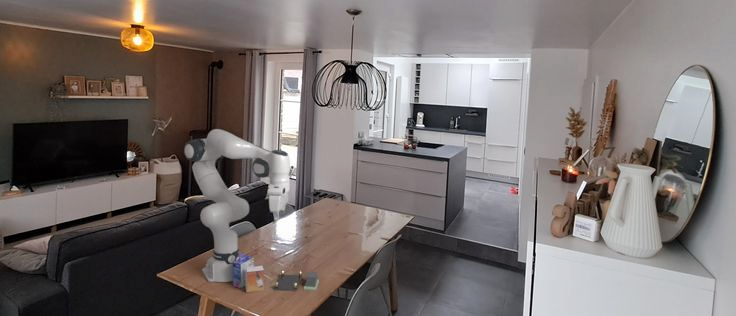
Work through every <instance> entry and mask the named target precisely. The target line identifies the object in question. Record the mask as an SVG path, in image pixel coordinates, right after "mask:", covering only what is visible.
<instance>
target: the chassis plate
mask: <svg viewBox="0 0 736 316" xmlns="http://www.w3.org/2000/svg"><path fill="white" fill-rule="evenodd" d="M302 278H303V275H302V270H299V271H298V274H285V270H284V269H281V270H280V276H279V278H278V280H277V281H275V282H274V287H273V290H274V291H286V292H287V291H289V292H297V291H298V289H299V286H300V283H301V281H302Z"/></svg>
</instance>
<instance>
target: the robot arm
mask: <svg viewBox="0 0 736 316" xmlns="http://www.w3.org/2000/svg"><path fill="white" fill-rule="evenodd" d="M183 153H184V156H185V158H186V159H187V160H188V161H189V162H194V163H193V164H192V167H191V168H192V172H193V176H194V179H195V181H196V183H197V185H198V186H199V189H200V191H201V192H202V195H203V196H204V198H206V199H208V200H210V201H213V202H214V203H211V204H209V205H207V206H205V207H203V208H202V210H201V212H200V215H199V216H200V221H201V222H202V223H201V224H203V225H204V226H205V227H207V228H209V229H210V231H211V233H212V237H213V244H214V245H213V246H214V248H213V249H212V251H213V252H212V256H211V257H210V258H208V259H207V261H206V264H205V266H204V267H203V268H202V269H201V270H202V271H201V272H202V274H203V275H204V277H205V279H206V280H207V282H209V283H210V282H211V283H213V282H217V283H228V282H233V264H232V263H233V262H235V261H236V260H238V259H239V257H238V256H239V255H240V251H239V250H240V249H239V242H238V241H239V238H238V237H239V236H238V233H237V232H236V231H235V230H234V229H231V228H230V223H233V222H236V221H238V220H239V221H240V220H241V219H243V218H245V217H246V216H247V215H249V213H250V205H249V202H248V201H247V200H246V199H244V198H242V197H240V196H237V195H236V194H235V193H234V192H232V191H231V189H229V188H228V187H227V185H226V183H225V182H224V180H223V178H222V177H221V175H220V173H219V172H218V170H217V168H216V163H220V162H221V161H222V160H223V158H228V159H231V160H240V159H253V161H252V166H251V167H252V171H253V174H254V175H255V176H256V177H257V178H258V179H259V178H262V179H264V178H268V179H269V186H268V189H267V195H268V206H269V211H270V213H273V215H274V220H275V221H279V220H280V214H281V215H284V214H285V211H286V206H287V203H288V202H289V199H290V198H289V193H290V191H291V188H290V187H291V186H290V185H291V180H290V172H291V163H290V162H291V161H290V156H289V154H288V153H287V152H286V151H285V150H278V149H273V150H272V151H270V150H267V149H266V148H263V147H261V146H258V145H256V144H254V143H252V142H249V141H247V140H244V139H243V138H241V137H238V136H236V135H235V134H233V133H231V132H229V131H226V130H224V129H220V128H215V129H211V130H210V131H209V132H208V134H207V137H206V138H196V139H195V138H194V139H192V140H189V141H187V142H185V144H184V147H183ZM240 258H242V256H241V257H240Z"/></svg>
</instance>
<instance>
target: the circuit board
mask: <svg viewBox="0 0 736 316" xmlns="http://www.w3.org/2000/svg"><path fill="white" fill-rule="evenodd" d="M319 282H320V279H318V271H307V273H306V277H305V283H304V286H303V290H305V291H307V290H308V291H317V289H318V285H319Z"/></svg>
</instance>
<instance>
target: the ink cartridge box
mask: <svg viewBox="0 0 736 316" xmlns="http://www.w3.org/2000/svg"><path fill="white" fill-rule="evenodd" d="M238 257H239V259H238V260H236V261H235V262H233V263H232V264H233V281H232V284H233V287H237V288H239V289H243V288H244V287H245V279H246V267H255V265H254V264H255V263H254V256H249V255H244V253H241V254H239V256H238ZM240 257H241V258H240Z"/></svg>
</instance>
